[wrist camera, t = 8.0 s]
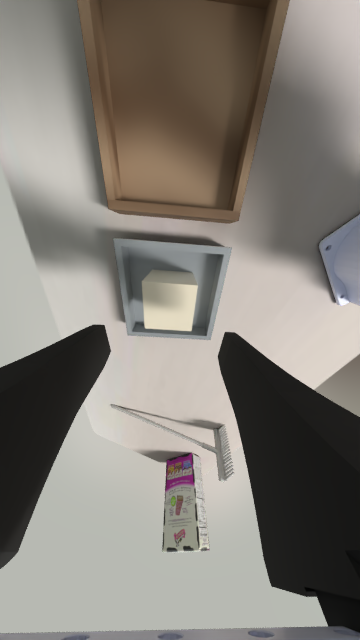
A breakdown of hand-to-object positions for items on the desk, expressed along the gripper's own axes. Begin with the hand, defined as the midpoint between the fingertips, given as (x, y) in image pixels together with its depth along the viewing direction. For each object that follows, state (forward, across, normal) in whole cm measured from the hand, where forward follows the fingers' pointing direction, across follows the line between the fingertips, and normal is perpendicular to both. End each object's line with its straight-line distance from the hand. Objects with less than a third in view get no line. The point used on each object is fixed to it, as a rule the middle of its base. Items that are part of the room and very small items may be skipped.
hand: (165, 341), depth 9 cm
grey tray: (+10, 0, 0) cm, 10 cm away
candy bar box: (+10, -6, +59) cm, 60 cm away
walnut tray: (+10, 0, -13) cm, 16 cm away
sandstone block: (+9, 0, 0) cm, 9 cm away
